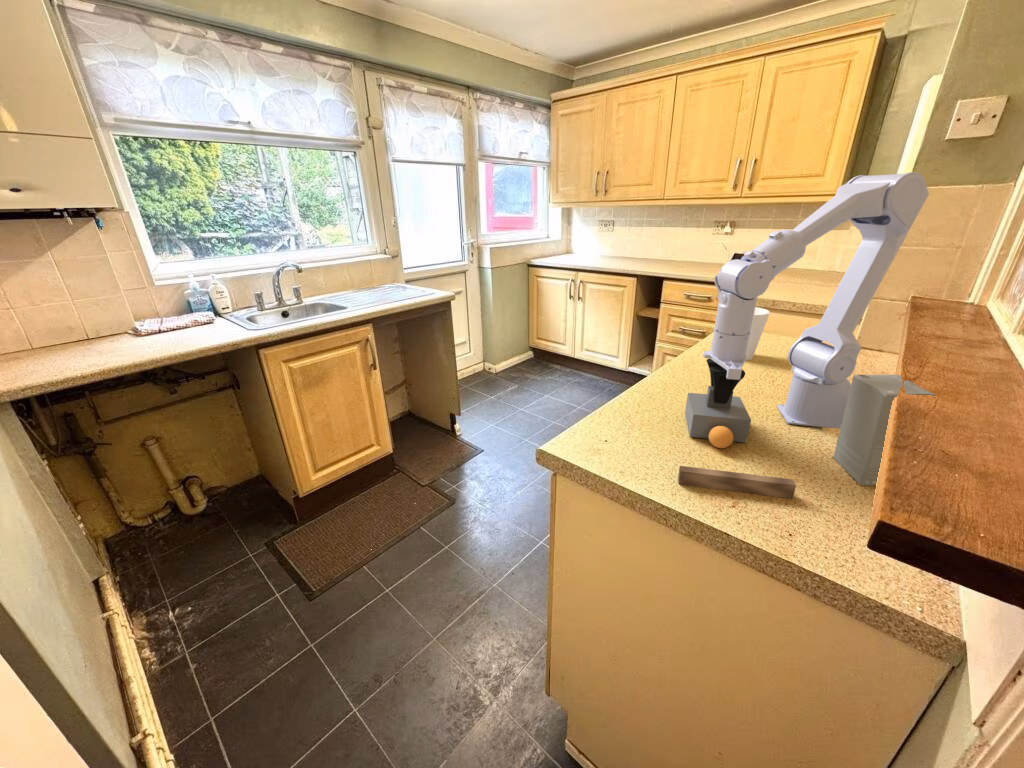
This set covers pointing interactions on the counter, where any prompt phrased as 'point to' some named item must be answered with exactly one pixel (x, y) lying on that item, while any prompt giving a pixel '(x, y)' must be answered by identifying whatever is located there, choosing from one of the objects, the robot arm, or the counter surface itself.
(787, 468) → the counter surface
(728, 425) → the grey stemmed block
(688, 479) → the stopper
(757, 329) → the foam cup
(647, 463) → the counter surface
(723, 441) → the ball
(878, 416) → the skincare box
